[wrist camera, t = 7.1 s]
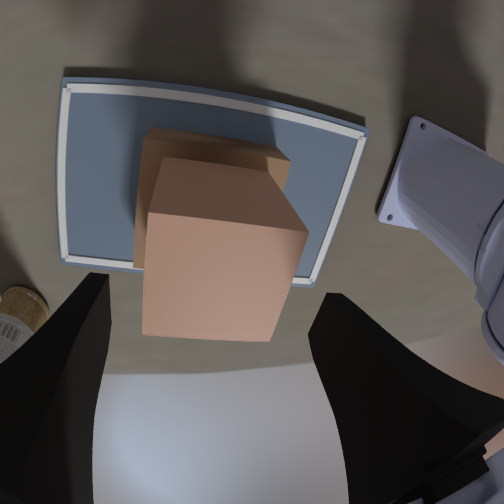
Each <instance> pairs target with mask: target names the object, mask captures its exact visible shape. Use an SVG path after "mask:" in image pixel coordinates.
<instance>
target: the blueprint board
mask: <svg viewBox="0 0 504 504" xmlns="http://www.w3.org/2000/svg"><path fill="white" fill-rule="evenodd" d="M151 127H155V128H164V129H173V130H181V131H188V132H195V133H202V134H209V135H216V136H222V137H228V138H234V139H240V140H245V141H251V142H256V143H262V144H267V145H272V146H276V147H277V148H278V149H279V150H280V151H281V152H282V153H283V154H284V155H285V156H286V157H287V158H288V159H289V160H290V161H291V165H290V168H289V172H288V175H287V179H286V183H285V186H284V190H283V194H284V195H285V197H286V198H287V199H288V201H289V202H290V204H291V205H292V207H293V208H294V210H295V211H296V213H297V214H298V216H299V217H300V219H301V220H302V222H303V223H304V225H305V226H306V228H307V229H308V231H309V232H310V233H309V236H308V239H307V242H306V244H305V247H304V250H303V253H302V256H301V259H300V261H299V264H298V267H297V270H296V273H295V275H294V278H293V281H292V284H291V286H296V287H311V288H313V287H314V285H315V282H316V280H317V277H318V275H319V272H320V270H321V267H322V265H323V262H324V260H325V257H326V254H327V252H328V249H329V247H330V244H331V241H332V239H333V236H334V233H335V231H336V228H337V225H338V223H339V220H340V217H341V214H342V212H343V209H344V206H345V203H346V201H347V198H348V195H349V192H350V189H351V186H352V183H353V181H354V178H355V175H356V172H357V169H358V166H359V163H360V160H361V157H362V154H363V151H364V148H365V145H366V141H367V138H368V135H369V132H370V129H369V128H367V127H364V126H361V125H358V124H355V123H352V122H349V121H346V120H342V119H339V118H336V117H333V116H329V115H326V114H322V113H319V112H315V111H312V110H308V109H304V108H300V107H297V106H293V105H289V104H285V103H280V102H276V101H272V100H267V99H263V98H258V97H254V96H249V95H244V94H239V93H233V92H228V91H222V90H217V89H211V88H204V87H198V86H191V85H184V84H176V83H167V82H158V81H148V80H137V79H123V78H104V77H63V78H62V86H61V94H60V104H59V115H58V129H57V149H56V203H57V224H58V238H59V249H60V259H61V264H63V265H71V266H80V267H88V268H97V269H106V270H115V271H124V272H134V273H143V274H144V269H138V268H133V255H134V234H135V217H136V204H137V192H138V181H139V171H140V162H141V154H142V146H143V139H144V137H145V136H146V134H147V133H148V131H149V130H150V128H151Z"/></svg>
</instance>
